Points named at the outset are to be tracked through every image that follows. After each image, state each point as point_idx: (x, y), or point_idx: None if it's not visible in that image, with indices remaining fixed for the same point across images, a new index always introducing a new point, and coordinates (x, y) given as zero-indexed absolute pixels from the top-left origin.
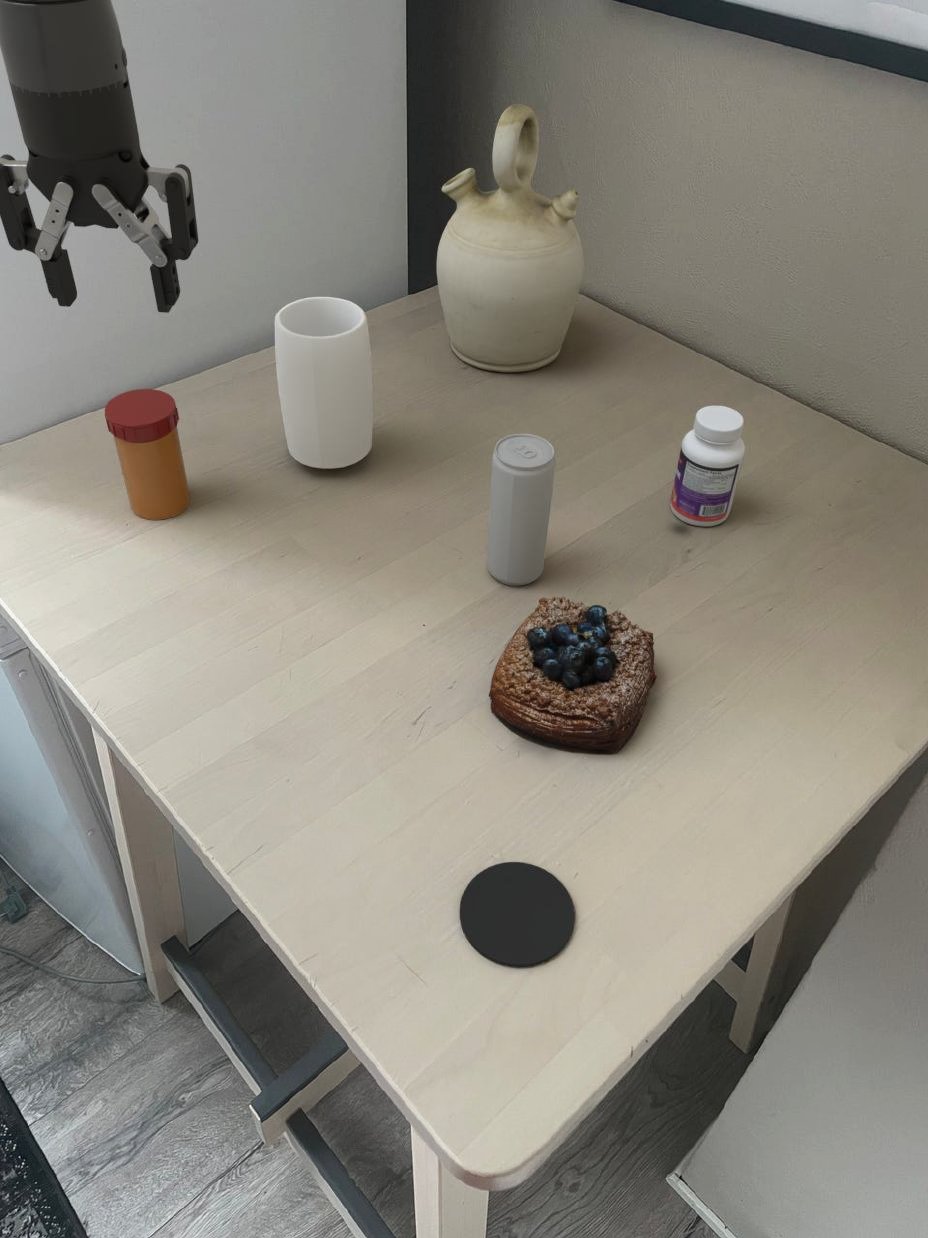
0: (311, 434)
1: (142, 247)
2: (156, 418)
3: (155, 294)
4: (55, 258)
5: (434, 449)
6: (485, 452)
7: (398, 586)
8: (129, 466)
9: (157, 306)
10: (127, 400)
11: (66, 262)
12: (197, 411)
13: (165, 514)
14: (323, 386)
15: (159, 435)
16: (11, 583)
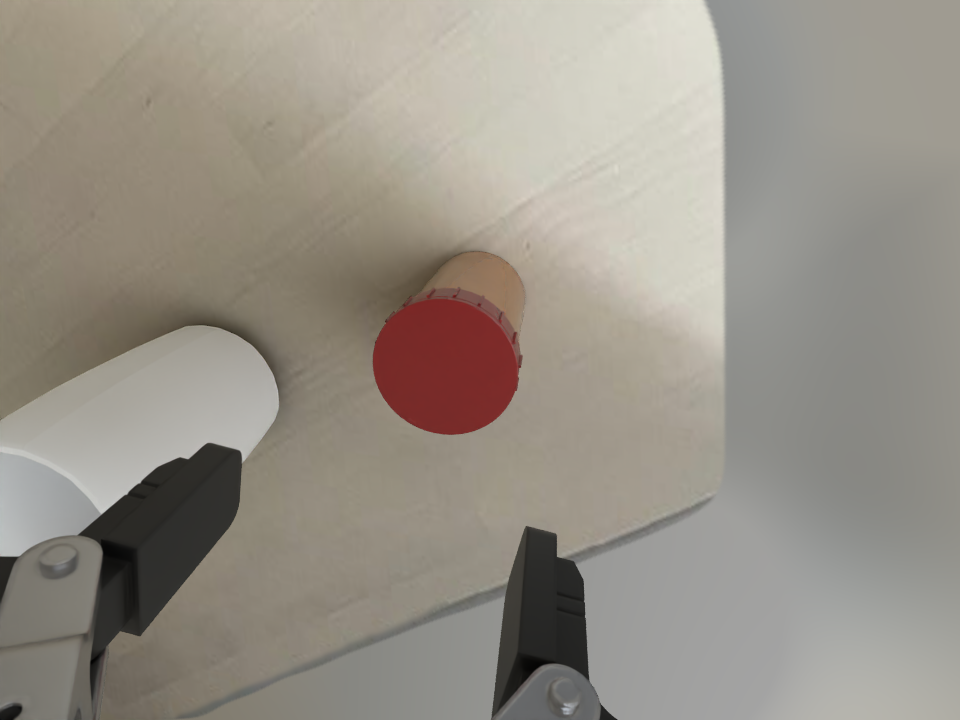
0: (192, 352)
1: (84, 616)
2: (405, 319)
3: (201, 479)
4: (523, 674)
5: (78, 371)
6: (4, 352)
7: (76, 14)
8: (495, 287)
9: (227, 456)
10: (473, 397)
11: (500, 675)
12: (436, 520)
13: (463, 254)
14: (91, 385)
15: (411, 298)
16: (721, 102)
